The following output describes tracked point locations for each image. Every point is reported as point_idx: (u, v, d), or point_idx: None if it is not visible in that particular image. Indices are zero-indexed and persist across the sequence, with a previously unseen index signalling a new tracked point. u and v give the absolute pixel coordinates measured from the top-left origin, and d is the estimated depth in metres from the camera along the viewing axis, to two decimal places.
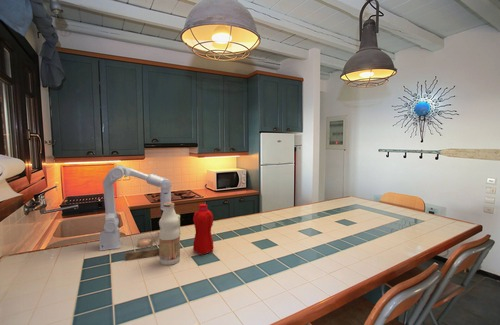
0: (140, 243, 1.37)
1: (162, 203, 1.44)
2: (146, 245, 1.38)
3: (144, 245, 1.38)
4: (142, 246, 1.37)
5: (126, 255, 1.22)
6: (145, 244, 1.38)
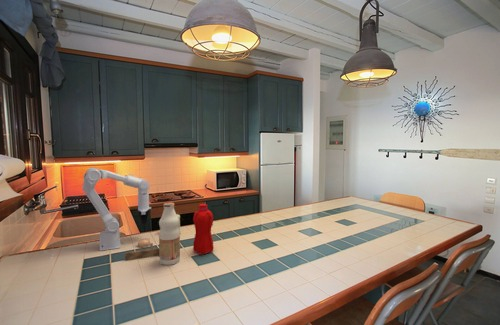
0: (140, 243, 1.37)
1: (139, 204, 1.43)
2: (146, 245, 1.38)
3: (144, 245, 1.38)
4: (142, 246, 1.37)
5: (126, 255, 1.22)
6: (145, 244, 1.38)
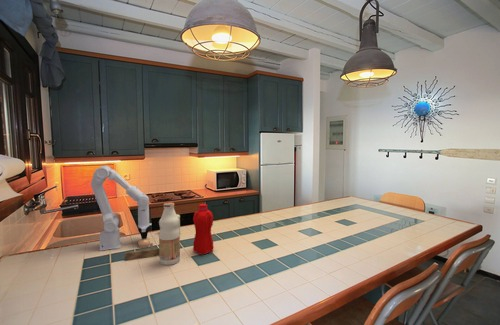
0: (140, 243, 1.37)
1: (139, 220, 1.40)
2: (146, 245, 1.38)
3: (144, 245, 1.37)
4: (142, 246, 1.37)
5: (126, 255, 1.22)
6: (145, 244, 1.37)
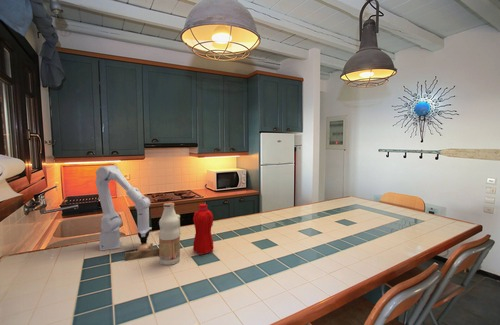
0: (139, 248, 1.30)
1: (139, 225, 1.33)
2: None
3: None
4: None
5: (126, 255, 1.22)
6: None
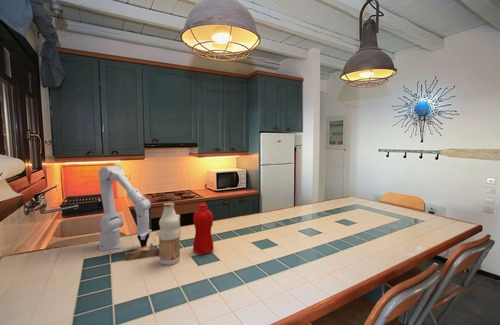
0: None
1: (138, 227, 1.30)
2: None
3: None
4: None
5: (126, 255, 1.22)
6: None
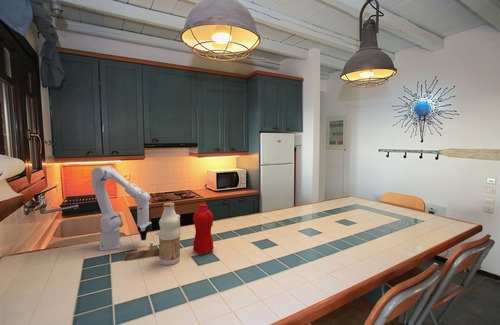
0: None
1: (139, 219, 1.34)
2: None
3: None
4: None
5: (126, 255, 1.22)
6: None
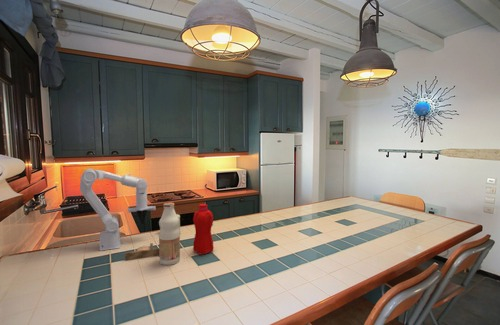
0: None
1: None
2: None
3: None
4: None
5: (126, 255, 1.22)
6: None
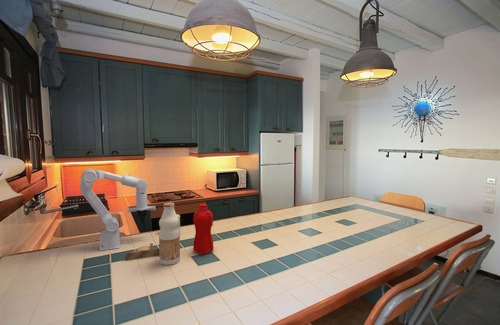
0: None
1: None
2: None
3: None
4: None
5: (126, 255, 1.22)
6: None
